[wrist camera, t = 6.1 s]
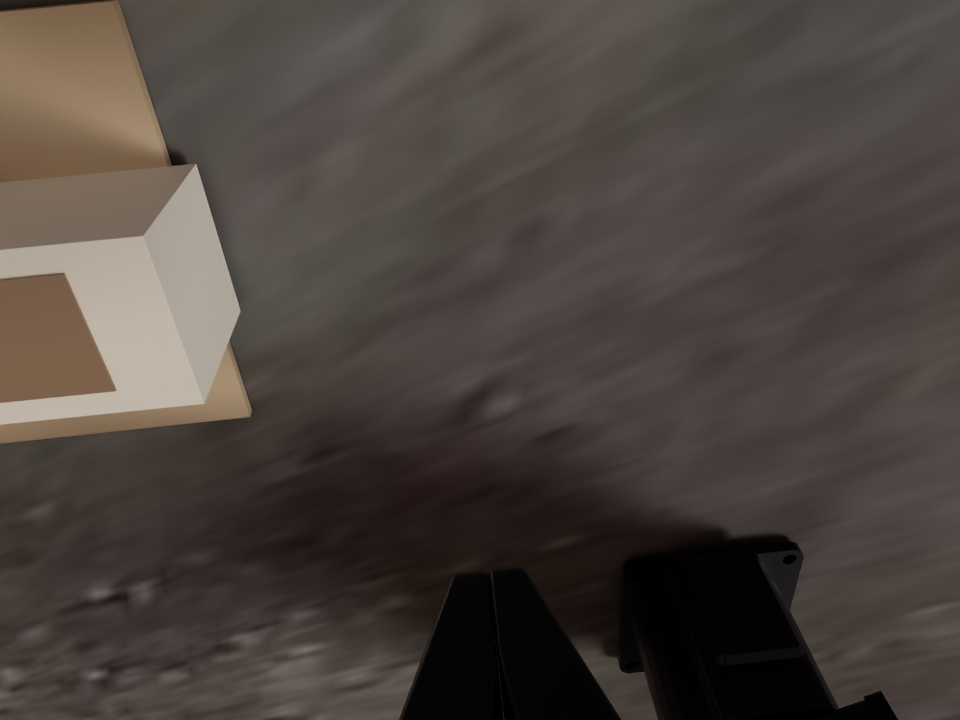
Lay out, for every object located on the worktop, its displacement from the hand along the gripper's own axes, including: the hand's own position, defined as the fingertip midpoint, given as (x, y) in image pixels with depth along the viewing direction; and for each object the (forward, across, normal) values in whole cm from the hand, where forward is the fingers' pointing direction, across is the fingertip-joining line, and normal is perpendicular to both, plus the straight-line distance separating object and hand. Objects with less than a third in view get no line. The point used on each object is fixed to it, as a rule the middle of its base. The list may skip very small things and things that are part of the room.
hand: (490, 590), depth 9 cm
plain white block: (+9, +6, 0) cm, 11 cm away
